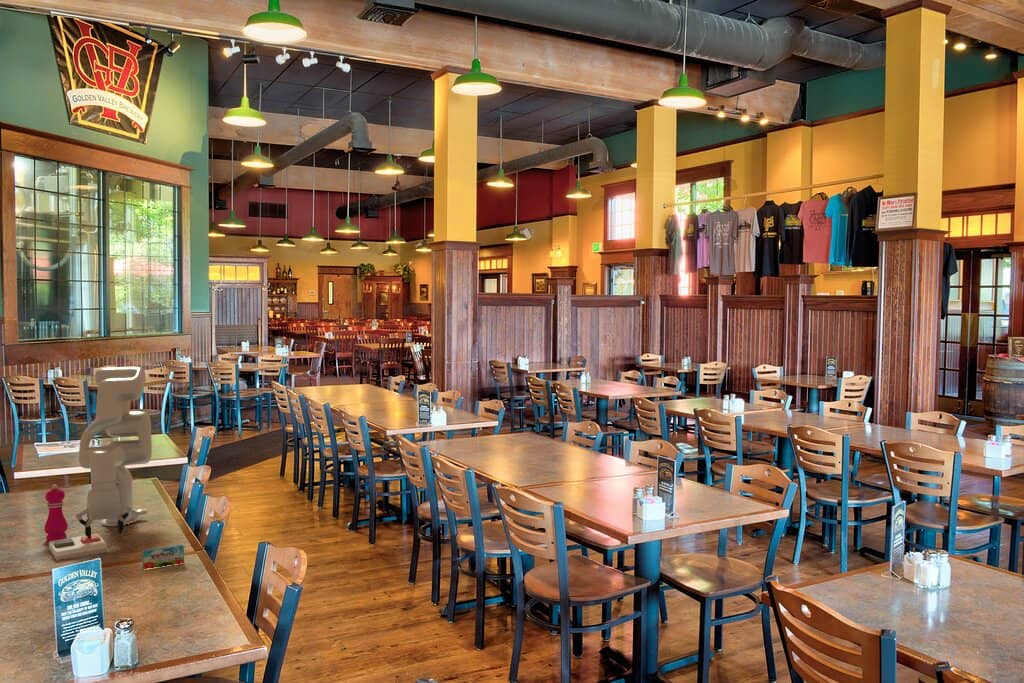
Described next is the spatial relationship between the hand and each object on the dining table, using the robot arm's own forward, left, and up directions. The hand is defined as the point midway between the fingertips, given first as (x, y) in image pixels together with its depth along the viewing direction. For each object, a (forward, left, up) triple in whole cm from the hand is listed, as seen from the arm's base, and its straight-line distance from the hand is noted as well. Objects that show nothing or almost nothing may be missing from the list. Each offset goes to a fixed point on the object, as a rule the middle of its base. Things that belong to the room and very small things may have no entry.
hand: (104, 535), depth 279 cm
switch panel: (+8, 0, -4) cm, 9 cm away
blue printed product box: (-10, +36, -4) cm, 37 cm away
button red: (+4, 0, -2) cm, 5 cm away
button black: (+12, 0, -2) cm, 13 cm away
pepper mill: (+12, -20, -4) cm, 24 cm away
